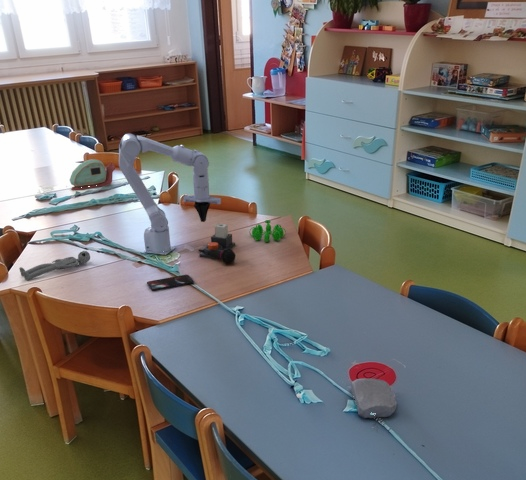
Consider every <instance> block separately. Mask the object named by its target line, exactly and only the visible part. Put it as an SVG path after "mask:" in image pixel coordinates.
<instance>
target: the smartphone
mask: <svg viewBox="0 0 526 480" xmlns="http://www.w3.org/2000/svg"><path fill="white" fill-rule="evenodd" d="M194 283H195V282H194V279H193V278H192V277H191V276H190V275H189V274H182V275H176V276H171V277H164V278H160V279H154V280H149V281H147V282H146V284H147V286H148V287H149V288H150V290H151V291H159V290H165V289H170V288H175V287H180V286H181V287H182V286H185V285H191V284H194Z"/></svg>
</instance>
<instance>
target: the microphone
mask: <svg viewBox="0 0 526 480" xmlns="http://www.w3.org/2000/svg"><path fill="white" fill-rule="evenodd" d="M198 252H200V253H202V252H203V253H205V251H204V248H202V249H198ZM208 255H210V256H212V257H215V258H218V259H219V260H221V261H222V263H223V264H226V265H229V264H232V263H234V261H235V260H236V253H235V251H233V249H225V250H224V251H222V250H214V249H211V251H209V252H208ZM218 259H217V260H218Z"/></svg>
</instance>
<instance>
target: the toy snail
mask: <svg viewBox="0 0 526 480" xmlns="http://www.w3.org/2000/svg"><path fill="white" fill-rule="evenodd" d="M115 170H116V166H115V165H114V164H113V162H110V163H109V164H108V165H107V166H105V164H104V163H103V161H101V160H99V159H94V158H92V159H87V160H85V161H83V162H82V163H80V164H78V165H77V166H76V168H75V169H74V170H72V172H71V174H70V178H69V183H70V185H72V187H71V191H80V190H88V189H95V188H102V187H107V186H110V185H112V183H113V172H114V171H115ZM96 185H97V186H96ZM88 186H90V187H88ZM81 187H82V188H81Z"/></svg>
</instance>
